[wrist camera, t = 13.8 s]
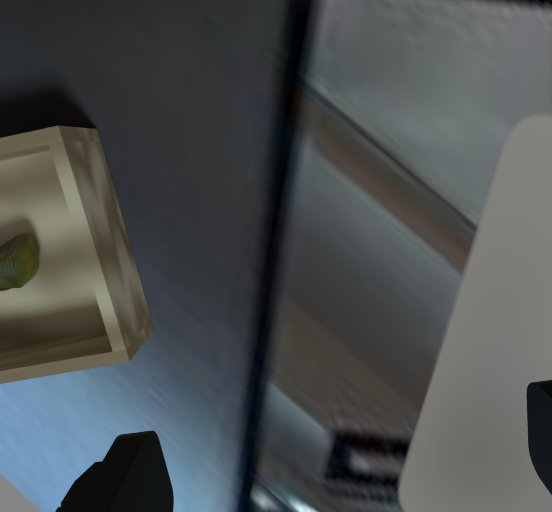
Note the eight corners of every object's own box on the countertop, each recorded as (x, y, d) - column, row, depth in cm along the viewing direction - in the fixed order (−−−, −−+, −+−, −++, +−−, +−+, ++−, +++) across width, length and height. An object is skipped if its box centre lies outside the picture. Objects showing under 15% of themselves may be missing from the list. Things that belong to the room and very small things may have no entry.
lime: (-11, 267, 36) (-57, 285, 31) (9, 215, 35) (-36, 226, 30) (40, 291, 37) (2, 313, 32) (60, 241, 36) (24, 256, 31)
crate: (-103, 171, 36) (-180, 176, 30) (97, 129, 34) (58, 125, 28) (-29, 360, 39) (-83, 398, 34) (153, 328, 38) (129, 361, 32)
